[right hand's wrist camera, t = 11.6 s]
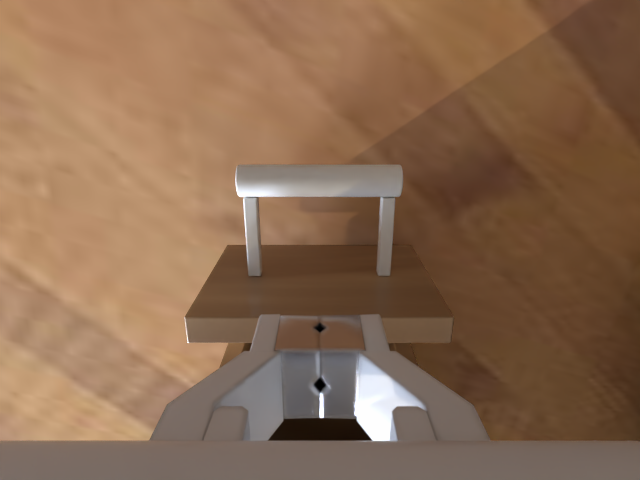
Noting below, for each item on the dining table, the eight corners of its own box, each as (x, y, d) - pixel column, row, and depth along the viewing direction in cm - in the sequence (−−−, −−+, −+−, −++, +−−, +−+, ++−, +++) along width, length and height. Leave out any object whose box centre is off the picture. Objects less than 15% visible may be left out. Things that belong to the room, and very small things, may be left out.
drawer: (219, 152, 21) (166, 184, 14) (419, 152, 21) (472, 184, 14) (248, 504, 30) (225, 638, 23) (389, 504, 30) (412, 638, 23)
